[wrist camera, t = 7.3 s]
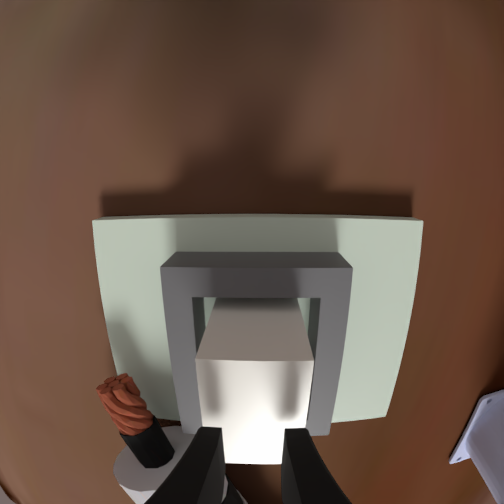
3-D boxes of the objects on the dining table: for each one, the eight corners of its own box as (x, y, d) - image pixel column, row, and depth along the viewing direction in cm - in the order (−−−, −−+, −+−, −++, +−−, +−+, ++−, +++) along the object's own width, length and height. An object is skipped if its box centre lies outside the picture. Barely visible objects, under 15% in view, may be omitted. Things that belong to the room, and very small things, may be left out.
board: (412, 217, 15) (449, 230, 11) (380, 404, 18) (397, 443, 14) (103, 216, 15) (65, 229, 12) (134, 402, 18) (114, 439, 15)
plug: (295, 289, 15) (314, 360, 9) (289, 377, 16) (299, 463, 10) (219, 289, 15) (195, 358, 9) (223, 376, 16) (207, 461, 10)
